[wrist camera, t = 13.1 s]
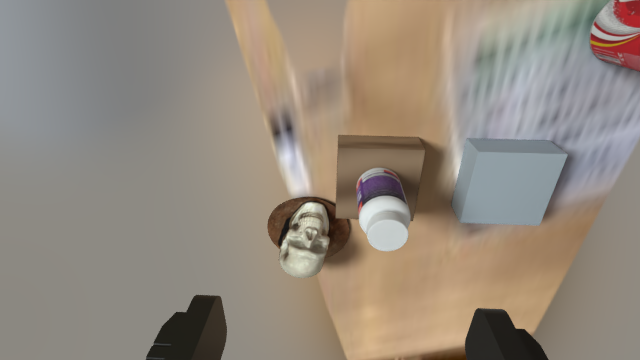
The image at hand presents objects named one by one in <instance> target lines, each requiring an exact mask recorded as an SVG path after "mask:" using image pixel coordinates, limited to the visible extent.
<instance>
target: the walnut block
mask: <svg viewBox="0 0 640 360" xmlns="http://www.w3.org/2000/svg"><path fill="white" fill-rule="evenodd" d="M424 155H425V149H424V147H423V145H422V143H421V141H420V139H419V138H418V137H394V136H355V135H338V158H337V185H336V218H342V219H359V214H358V203H357V192H356V187H357V182H358V180H359V178H360V177H361V175H362V174H364V173H365V172H366V171H368V170H370V169H373V168H386V169H389V170H391V171H393V172H394V173H395V174H396V175H397V176H398V178H399V180H400V182H401V185H402V189H403V192H404V195H405V198H406V201H407V204H408V208H409V211H410V216H411V218H410V221H413V218H414V212H415V207H416V201H417V195H418V189H419V184H420V178H421V172H422V167H423V161H424Z"/></svg>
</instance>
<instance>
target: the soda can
mask: <svg viewBox="0 0 640 360" xmlns="http://www.w3.org/2000/svg"><path fill="white" fill-rule="evenodd" d="M589 43H590V48H591V50H592V52H593V53H594V55H595V56H596V57H598V58H599V59H601V60H603V61H605V62H609V63H612V64H615V65H619V66H622V67H626V68H629V69H633V70H636V71H640V0H610V1H609V2H608V3H607V4H606V5H605V6H604V7H603V8H602V9H601V11H600V12H599V13H598V15H597V16H596V18H595V20H594V22H593V24H592V26H591V29H590V34H589Z"/></svg>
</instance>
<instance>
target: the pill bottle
mask: <svg viewBox="0 0 640 360" xmlns="http://www.w3.org/2000/svg"><path fill="white" fill-rule="evenodd" d="M356 192H357V203H358V214H359V222H360V226H361V228H362V229H363V231H364V232H365V233H366V234H367V237H368V241H369V243H370V244H371V245H372V246H373V247H374V248H376V249H378V250H381V251H393V250H396V249H398V248H400V247H402V246H403V245H404V244H405V243H406V241H407V239H408V229H407V228H408V226H409V224H410V218H411V216H410V211H409V208H408V204H407V201H406V198H405V195H404V192H403V189H402V185H401V182H400V180H399V178H398V176H397V175H396V174H395V173H394V172H393V171H391V170H389V169H386V168H373V169H370V170H368V171H366V172H365V173H364V174H362V175H361V177H360V178H359V180H358V182H357V187H356Z"/></svg>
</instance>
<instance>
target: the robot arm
mask: <svg viewBox="0 0 640 360" xmlns="http://www.w3.org/2000/svg"><path fill="white" fill-rule="evenodd" d="M226 335H227V326H226V320H225V315H224V310H223V305H222V300H221V297H220V296H210V295H209V296H208V295H196V296H194V298H193V299H192V301H191V303H190V306H189V308H188V310H187V312H176V313H175V314H174V315H173V316H172V317H171V318H170V319H169V320H168V321H167V322H166V323H165V324H164V325H163V326H162V328H161V330H160V331H159V333H158V335H157V337H156V339H155V341H154V345H153V346H152V347H151V349H150V351H149V353H148V354H147V357H146V360H221V356H222V353H223V350H224V347H225V342H226ZM465 351H466V357H467V360H548V358H547V356H546V355H545V353H544V351H543V349H542V348H541V346H540V344H539V343H538V342H537V341H536V340H535V339H534V338H533V337H532V336H531V335H530V334H529V333H528V332H527V331H526V330H525V329H516V328H515V327H514V325H513V323H512V321H511V319H510V317H509V315H508V313H507V312H506V311H505V310H503V309H482V308H478V309H476V311H475V313H474V316H473V319H472V322H471V325H470V328H469V331H468V334H467V337H466V341H465Z"/></svg>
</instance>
